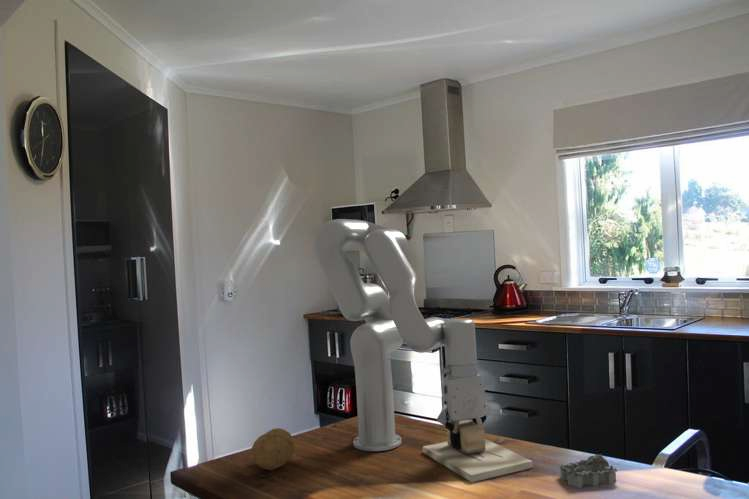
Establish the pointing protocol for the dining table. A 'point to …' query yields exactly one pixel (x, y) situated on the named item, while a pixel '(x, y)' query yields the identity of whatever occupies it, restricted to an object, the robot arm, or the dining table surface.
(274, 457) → the potato
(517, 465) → the board
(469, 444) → the block
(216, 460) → the dining table surface
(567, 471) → the egg carton
